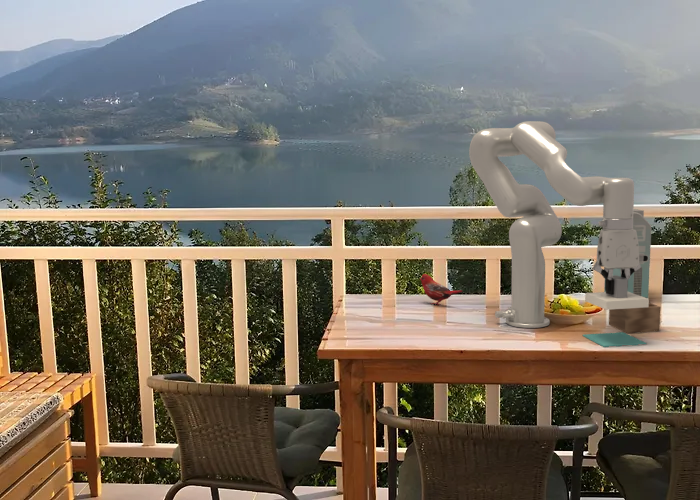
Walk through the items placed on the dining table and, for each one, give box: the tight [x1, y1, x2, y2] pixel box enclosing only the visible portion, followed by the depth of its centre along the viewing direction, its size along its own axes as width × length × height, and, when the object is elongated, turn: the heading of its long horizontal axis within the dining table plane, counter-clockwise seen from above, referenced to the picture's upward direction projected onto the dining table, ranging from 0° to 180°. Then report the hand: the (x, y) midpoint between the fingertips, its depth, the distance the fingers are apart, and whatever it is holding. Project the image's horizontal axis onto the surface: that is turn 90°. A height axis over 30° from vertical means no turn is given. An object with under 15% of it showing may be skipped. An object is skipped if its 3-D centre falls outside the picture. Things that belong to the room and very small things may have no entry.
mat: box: [582, 331, 647, 348], centre depth 210 cm, size 12×12×1 cm
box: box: [608, 302, 661, 334], centre depth 223 cm, size 10×10×7 cm
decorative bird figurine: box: [419, 273, 463, 306], centre depth 255 cm, size 3×18×10 cm, turn 46°
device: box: [603, 208, 652, 299], centre depth 260 cm, size 16×8×30 cm, turn 7°
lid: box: [584, 275, 650, 311], centre depth 208 cm, size 12×12×7 cm
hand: (616, 292), depth 208 cm, fingers closed on lid, 3 cm apart
